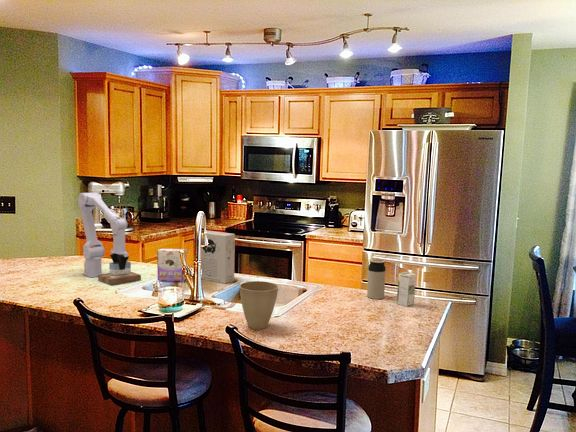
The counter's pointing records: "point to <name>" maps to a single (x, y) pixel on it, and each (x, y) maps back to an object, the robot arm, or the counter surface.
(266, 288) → the plant pot
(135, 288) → the counter surface
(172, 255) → the candy box
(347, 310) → the counter surface
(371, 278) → the travel mug
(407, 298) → the syrup box
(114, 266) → the block
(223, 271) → the cereal box
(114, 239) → the robot arm
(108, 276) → the stand
